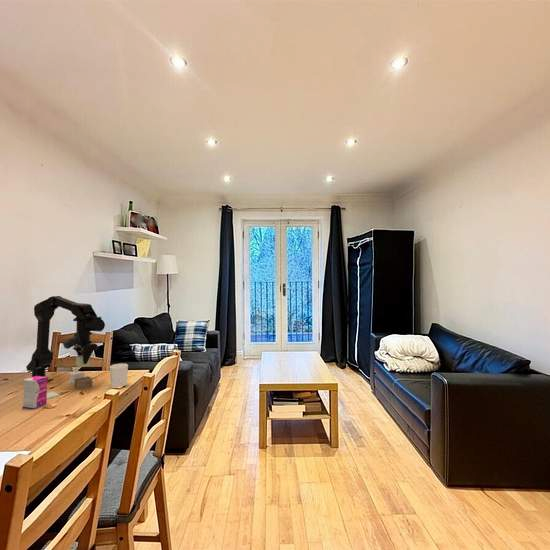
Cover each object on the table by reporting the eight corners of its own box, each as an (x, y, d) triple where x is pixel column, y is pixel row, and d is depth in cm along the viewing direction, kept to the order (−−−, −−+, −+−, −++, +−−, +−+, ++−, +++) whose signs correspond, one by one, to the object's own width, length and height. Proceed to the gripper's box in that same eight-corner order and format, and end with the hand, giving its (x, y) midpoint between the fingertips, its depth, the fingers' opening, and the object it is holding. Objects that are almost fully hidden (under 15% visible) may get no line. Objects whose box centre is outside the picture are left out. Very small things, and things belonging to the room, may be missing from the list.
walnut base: (74, 387, 158) (74, 378, 158) (88, 384, 162) (88, 376, 162) (78, 390, 153) (78, 381, 153) (92, 387, 158) (92, 378, 158)
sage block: (76, 365, 157) (76, 356, 157) (86, 363, 161) (86, 354, 161) (79, 367, 154) (79, 357, 155) (90, 365, 158) (90, 355, 158)
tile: (36, 396, 144) (36, 395, 144) (54, 392, 150) (54, 391, 150) (41, 400, 140) (41, 399, 140) (59, 395, 145) (59, 395, 145)
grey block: (69, 382, 164) (69, 373, 164) (78, 380, 168) (78, 371, 168) (75, 383, 162) (75, 374, 162) (84, 381, 167) (84, 372, 167)
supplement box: (34, 409, 130) (34, 380, 130) (22, 408, 131) (22, 379, 132) (47, 404, 136) (47, 376, 136) (35, 403, 137) (35, 375, 137)
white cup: (131, 384, 160) (131, 364, 160) (119, 390, 153) (119, 368, 153) (118, 383, 163) (118, 363, 163) (105, 388, 155) (105, 367, 155)
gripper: (57, 330, 158) (57, 363, 158) (71, 334, 146) (71, 370, 146) (82, 327, 166) (82, 358, 166) (98, 331, 154) (98, 365, 154)
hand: (83, 363), depth 158 cm, fingers closed on sage block, 4 cm apart
